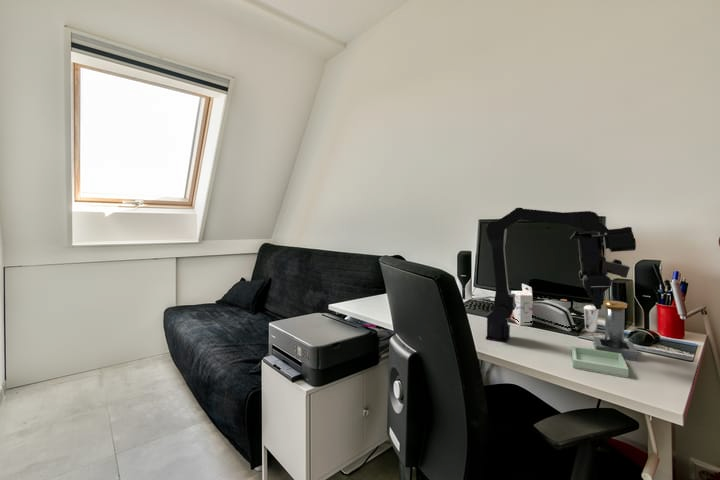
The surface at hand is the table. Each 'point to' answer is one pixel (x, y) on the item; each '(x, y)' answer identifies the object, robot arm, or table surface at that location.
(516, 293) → the ink cartridge box
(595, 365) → the tray
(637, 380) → the table surface
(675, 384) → the table surface
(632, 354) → the frame
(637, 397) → the table surface
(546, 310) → the grey arched block
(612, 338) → the grey and gold cylinder
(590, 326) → the milkshake
